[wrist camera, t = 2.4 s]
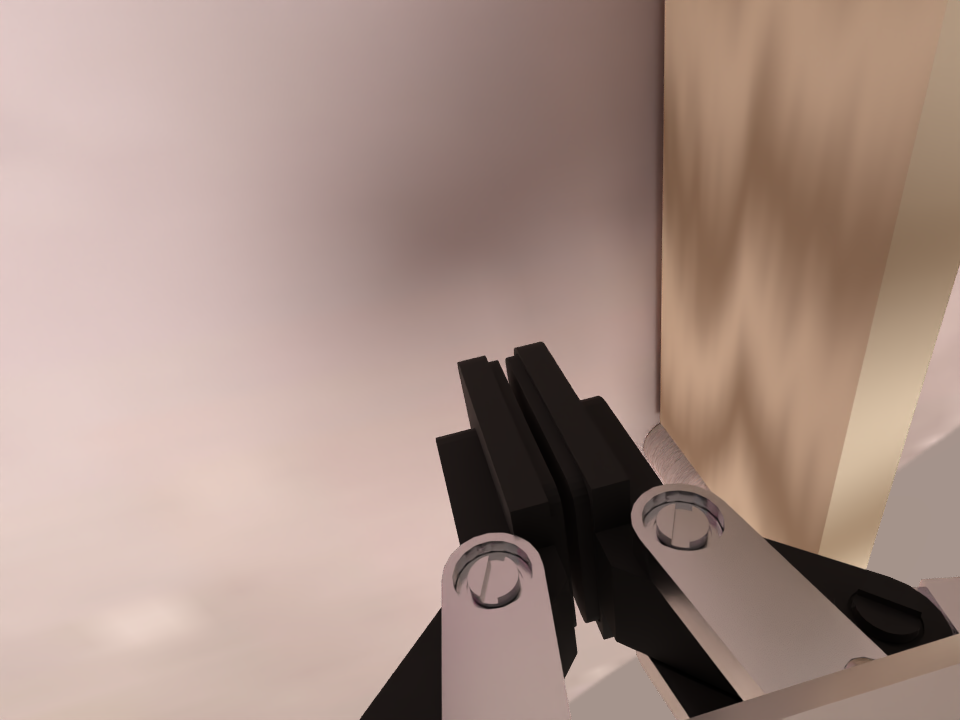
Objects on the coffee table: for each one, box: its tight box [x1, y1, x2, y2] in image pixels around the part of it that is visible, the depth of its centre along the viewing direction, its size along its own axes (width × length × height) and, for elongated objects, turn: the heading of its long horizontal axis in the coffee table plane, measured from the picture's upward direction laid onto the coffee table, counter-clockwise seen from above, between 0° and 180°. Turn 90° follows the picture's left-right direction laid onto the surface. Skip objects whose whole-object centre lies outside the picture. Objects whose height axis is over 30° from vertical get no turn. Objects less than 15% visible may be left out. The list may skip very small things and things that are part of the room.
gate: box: [660, 0, 960, 569], centre depth 14 cm, size 20×2×8 cm, turn 9°
